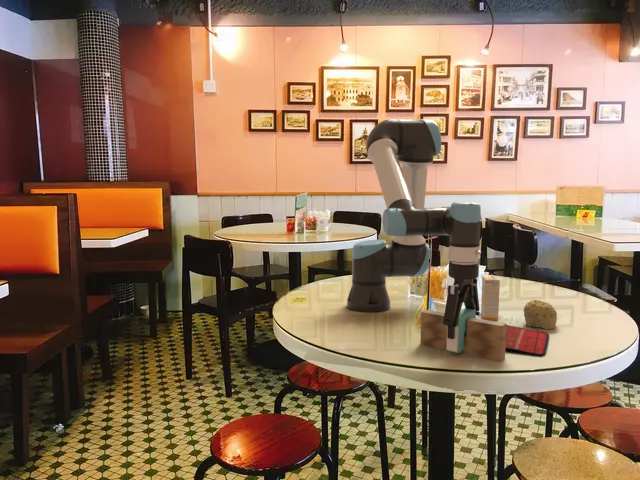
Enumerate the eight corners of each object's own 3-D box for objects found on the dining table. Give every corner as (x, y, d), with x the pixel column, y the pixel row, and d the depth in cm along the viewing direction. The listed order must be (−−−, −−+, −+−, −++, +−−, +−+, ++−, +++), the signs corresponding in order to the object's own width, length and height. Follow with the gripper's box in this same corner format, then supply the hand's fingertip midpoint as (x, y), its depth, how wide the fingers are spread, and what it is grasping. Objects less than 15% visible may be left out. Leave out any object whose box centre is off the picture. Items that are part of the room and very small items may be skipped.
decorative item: (555, 337, 158) (554, 307, 163) (559, 325, 150) (558, 294, 155) (522, 335, 161) (522, 305, 166) (524, 323, 153) (524, 292, 158)
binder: (480, 341, 137) (492, 321, 156) (480, 350, 137) (491, 329, 156) (546, 353, 130) (550, 331, 149) (545, 362, 130) (549, 338, 149)
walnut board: (420, 343, 141) (421, 311, 140) (425, 341, 143) (426, 309, 142) (501, 361, 127) (502, 326, 126) (505, 358, 130) (506, 323, 129)
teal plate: (458, 353, 130) (459, 318, 129) (447, 350, 132) (448, 316, 131) (474, 342, 139) (475, 309, 138) (463, 340, 140) (464, 307, 139)
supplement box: (498, 320, 164) (500, 280, 162) (483, 319, 164) (484, 279, 163) (495, 313, 172) (497, 275, 170) (480, 312, 173) (481, 274, 171)
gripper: (459, 270, 121) (456, 360, 124) (494, 257, 139) (490, 336, 142) (430, 267, 126) (428, 353, 128) (467, 255, 144) (464, 331, 147)
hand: (461, 344), depth 135 cm, fingers closed on teal plate, 11 cm apart
